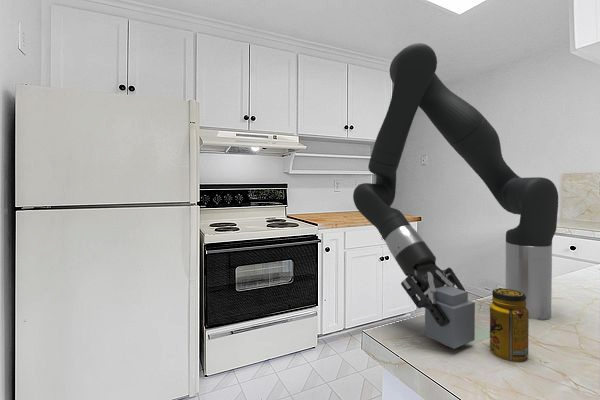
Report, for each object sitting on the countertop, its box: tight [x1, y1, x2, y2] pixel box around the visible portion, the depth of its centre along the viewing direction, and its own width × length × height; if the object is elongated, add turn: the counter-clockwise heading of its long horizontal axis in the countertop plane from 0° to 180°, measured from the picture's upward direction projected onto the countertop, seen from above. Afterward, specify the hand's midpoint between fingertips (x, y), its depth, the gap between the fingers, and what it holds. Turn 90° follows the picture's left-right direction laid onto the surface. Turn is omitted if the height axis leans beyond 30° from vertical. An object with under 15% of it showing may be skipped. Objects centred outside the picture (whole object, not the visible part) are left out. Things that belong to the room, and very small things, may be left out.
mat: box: [463, 325, 490, 347], centre depth 69 cm, size 10×10×1 cm
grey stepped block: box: [424, 285, 476, 350], centre depth 63 cm, size 6×6×10 cm
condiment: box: [489, 287, 552, 364], centre depth 59 cm, size 7×8×12 cm
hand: (457, 320), depth 62 cm, fingers closed on grey stepped block, 6 cm apart
